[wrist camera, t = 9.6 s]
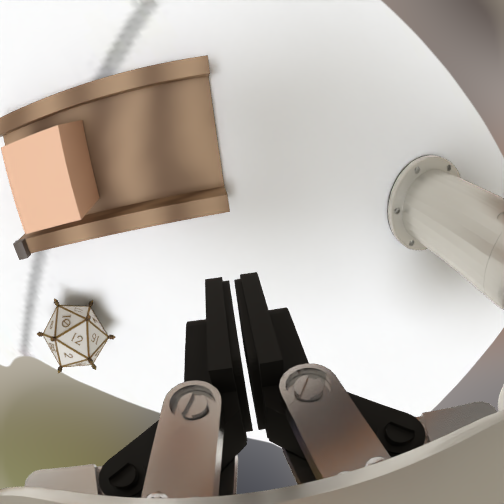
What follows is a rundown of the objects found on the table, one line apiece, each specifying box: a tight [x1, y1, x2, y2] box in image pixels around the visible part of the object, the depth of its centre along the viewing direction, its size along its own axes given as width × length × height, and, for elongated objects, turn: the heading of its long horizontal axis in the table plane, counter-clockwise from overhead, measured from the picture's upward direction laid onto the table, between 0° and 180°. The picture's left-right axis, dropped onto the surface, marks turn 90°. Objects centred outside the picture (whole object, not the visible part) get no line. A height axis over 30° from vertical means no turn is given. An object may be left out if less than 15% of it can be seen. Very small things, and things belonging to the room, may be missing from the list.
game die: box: [37, 299, 115, 373], centre depth 32 cm, size 9×8×10 cm
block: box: [1, 120, 100, 234], centre depth 24 cm, size 6×8×6 cm
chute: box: [0, 55, 230, 260], centre depth 26 cm, size 22×14×5 cm, turn 97°
